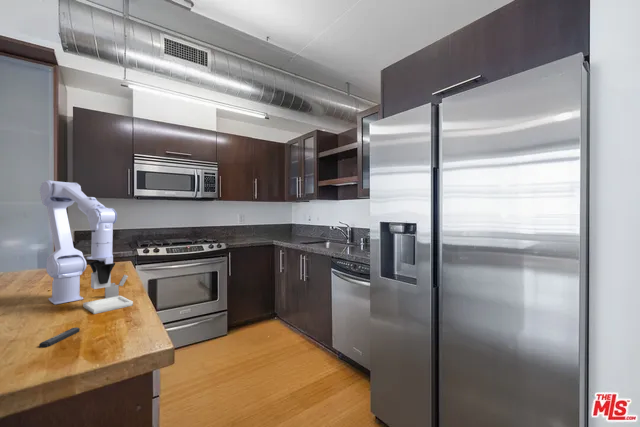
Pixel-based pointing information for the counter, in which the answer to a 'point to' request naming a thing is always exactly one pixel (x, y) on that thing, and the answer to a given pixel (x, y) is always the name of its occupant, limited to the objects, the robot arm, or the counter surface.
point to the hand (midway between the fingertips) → (101, 282)
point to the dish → (107, 304)
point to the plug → (95, 281)
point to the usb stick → (59, 337)
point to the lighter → (114, 288)
